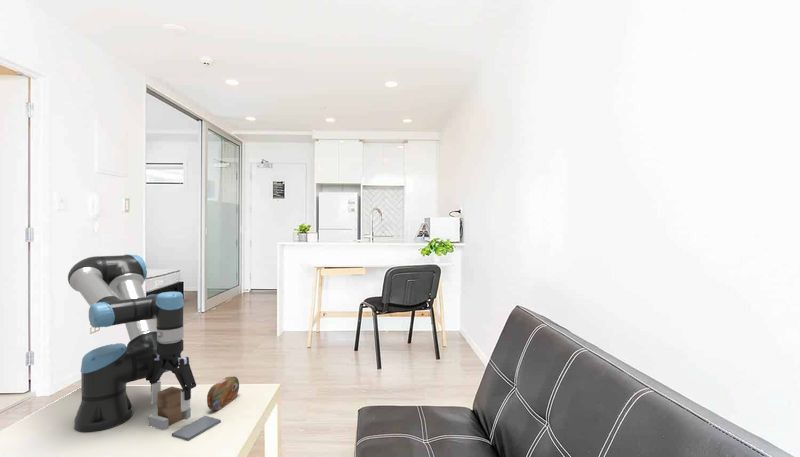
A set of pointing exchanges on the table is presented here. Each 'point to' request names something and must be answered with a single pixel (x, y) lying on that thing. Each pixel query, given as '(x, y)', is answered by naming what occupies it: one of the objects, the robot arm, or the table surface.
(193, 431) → the slate plate
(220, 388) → the tin
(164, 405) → the walnut block
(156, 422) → the cradle
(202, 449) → the table surface
